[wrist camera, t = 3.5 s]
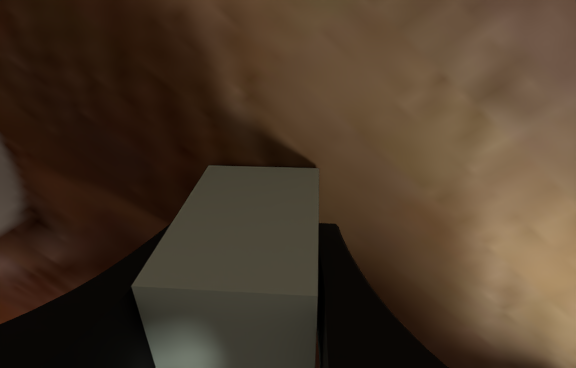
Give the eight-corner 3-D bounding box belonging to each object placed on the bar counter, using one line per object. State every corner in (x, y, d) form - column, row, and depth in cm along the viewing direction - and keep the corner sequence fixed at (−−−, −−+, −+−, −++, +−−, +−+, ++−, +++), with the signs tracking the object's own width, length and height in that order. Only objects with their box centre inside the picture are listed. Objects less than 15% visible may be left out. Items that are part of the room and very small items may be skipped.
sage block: (319, 168, 13) (318, 296, 7) (315, 256, 14) (313, 407, 9) (208, 165, 13) (131, 286, 8) (219, 251, 15) (164, 395, 10)
